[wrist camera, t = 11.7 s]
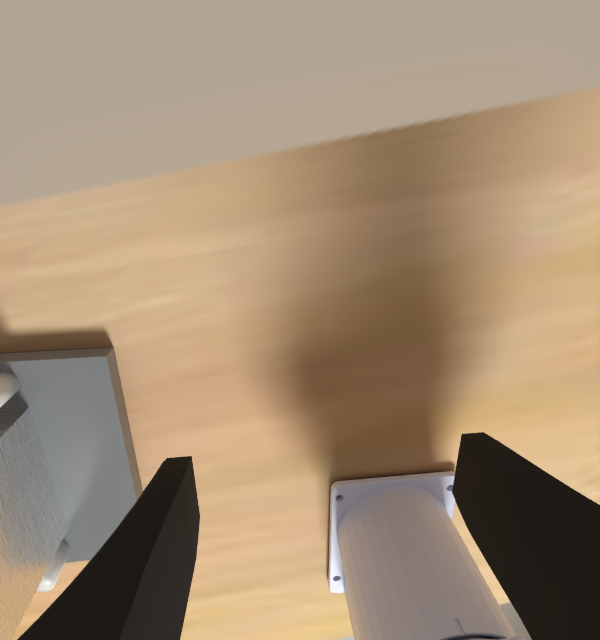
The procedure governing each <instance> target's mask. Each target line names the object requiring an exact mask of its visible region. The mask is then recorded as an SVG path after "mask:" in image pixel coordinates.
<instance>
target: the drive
mask: <svg viewBox="0 0 600 640" xmlns="http://www.w3.org/2000/svg"><path fill="white" fill-rule="evenodd" d="M67 530H68V528H67V525H66V522H65V519H64V516H63V512H62V509H61V506H60V503H59V500H58V497H57V493H56V490H55V487H54V484H53V481H52V478H51V475H50V471H49V468H48V465H47V462H46V459H45V456H44V452H43V449H42V446H41V443H40V440H39V437H38V434H37V430H36V427H35V424H34V421H33V418H32V415H31V412H30V408H29V407H23V408H9V409H0V640H11V639H12V637H13V635H14V634H15V632H16V630H17V628H18V626H19V624H20V622H21V620H22V618H23V616H24V614H25V612H26V610H27V608H28V606H29V604H30V602H31V600H32V598H33V596H34V594H35V592H36V590H37V588H38V587H39V585H40V583H41V581H42V579H43V577H44V575H45V573H46V571H47V569H48V567H49V565H50V563H51V561H52V559H53V557H54V555H55V553H56V551H57V549H58V547H59V545H60V543H61V542H62V540H63V538H64V536H65V534H66V532H67Z"/></svg>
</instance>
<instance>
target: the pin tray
mask: <svg viewBox="0 0 600 640" xmlns="http://www.w3.org/2000/svg"><path fill="white" fill-rule="evenodd" d="M23 407H29V408H30V412H31V415H32V418H33V421H34V424H35V427H36V430H37V434H38V437H39V440H40V443H41V446H42V449H43V452H44V456H45V459H46V462H47V465H48V468H49V471H50V475H51V478H52V481H53V484H54V487H55V490H56V493H57V497H58V500H59V503H60V506H61V509H62V512H63V516H64V519H65V522H66V525H67V528H68V530H67V532H66V534H65V536H64V538H63V540H62V542H61V543H60V545H59V547H58V549H57V551H56V553H55V555H54V557H53V559H52V561H51V563H50V565H49V567H48V569H47V571H46V573H45V575H44V577H43V579H42V581H41V583H40V585H39V587H38V588H37V591H42V592H44V591H49V590H51V589H53V587H54V586H55V584H56V582H57V579H58V577H59V575H60V573H61V571H62V569H63V567H64V565H65V563H67V562H76V561H86V560H91V559H92V558H93V557H94V555H95V554H96V553H97V552H98V551H99V549H100V548H101V547H102V546H103V544H104V543H105V542H106V541H107V540H108V538H109V537H110V536H111V535H112V533H113V532H114V531H115V529H116V528H117V527H118V525H119V524H120V523H121V521H122V520H123V519H124V517H125V516H126V515H127V513H128V512H129V511H130V509H131V508H132V507H133V505H134V504H135V503H136V501H137V500H138V498H139V497H140V496H141V494H142V493H143V492H142V487H141V482H140V477H139V472H138V467H137V462H136V457H135V452H134V447H133V442H132V437H131V433H130V428H129V423H128V418H127V413H126V408H125V403H124V398H123V393H122V388H121V383H120V378H119V373H118V368H117V363H116V358H115V353H114V348H113V347H110V348H92V349H73V350H54V351H35V352H17V353H0V409H9V408H23Z"/></svg>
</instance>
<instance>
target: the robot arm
mask: <svg viewBox="0 0 600 640" xmlns="http://www.w3.org/2000/svg"><path fill="white" fill-rule="evenodd" d="M449 485H450V486H449ZM338 495H341V496H339V497H337V496H338ZM455 501H456V503H457V506H458V508H459V510H460V513H461V515H462V517H463V519H464V521H465V524H466V526H467V528H468V530H469V532H470V534H471V535H472V537H473V539H474V541H475V542H476V544H477V546H478V547H479V549H480V551H481V553H482V554H483V556H484V558H485V559H486V561H487V563H488V564H489V566H490V568H491V570H492V571H493V573H494V575H495V576H496V578H497V580H498V581H499V583H500V585H501V586H502V588H503V590H504V591H505V593H506V595H507V596H508V598H509V600H510V602H511V603H512V605H513V607H514V608H515V610H516V612H517V613H518V615H519V617H520V618H521V620H522V622H523V624H524V626H525V627H526V629H527V631H528V633H529V635H530V637H531V638H532V640H600V505H599V504H597V503H595V502H594V501H592V500H590V499H588V498H587V497H585V496H583V495H582V494H580V493H578V492H577V491H575V490H574V489H572V488H570V487H569V486H567V485H565V484H564V483H562V482H561V481H559V480H558V479H556V478H554V477H553V476H551V475H550V474H548V473H547V472H545V471H543V470H542V469H540V468H539V467H537V466H536V465H534V464H533V463H531V462H530V461H528V460H526V459H525V458H523V457H522V456H520V455H519V454H517V453H516V452H514V451H513V450H511V449H509V448H508V447H506V446H505V445H503V444H502V443H500V442H499V441H497V440H495V439H494V438H492V437H490V436H489V435H487V434H485V433H483V432H482V433H469V434H462V436H461V442H460V448H459V454H458V459H457V465H456V471H455V472H453V471H447V472H436V473H425V474H413V475H402V476H391V477H380V478H369V479H358V480H346V481H338V482H335V483H333V484H332V486H331V496H330V538H329V580H328V585H329V590H330V591H331V592H332V593H342V592H345V596H346V601H347V606H348V611H349V615H350V620H351V625H352V630H353V634H354V639H355V640H525V638H524V637H523V636H522V635H518V636H516V635H515V633H514V632H513V630H512V628H511V626H510V624H509V622H508V621H507V619H506V617H505V615H504V613H503V612H502V610H501V608H500V606H499V604H498V603H497V601H496V599H495V597H494V595H493V594H492V592H491V590H490V588H489V586H488V585H487V583H486V581H485V579H484V577H483V576H482V574H481V572H480V570H479V568H478V567H477V565H476V563H475V561H474V559H473V558H472V556H471V554H470V552H469V551H468V549H467V547H466V545H465V543H464V542H463V540H462V538H461V536H460V534H459V533H458V531H457V529H456V527H455V525H454V524H453V522H452V518H453V512H454V506H455ZM199 522H200V513H199V506H198V499H197V492H196V485H195V477H194V470H193V463H192V456H188V457H176V458H167V459H166V460H165V461H164V462H163V463H162V465H161V466H160V468H159V469H158V471H157V472H156V474H155V475H154V477H153V478H152V480H151V481H150V483H149V484H148V486H147V487H146V488H145V490H144V491H143V493H142V494H141V496H140V497H139V498H138V500H137V501H136V503H135V504H134V505H133V507H132V508H131V509H130V511H129V512H128V513H127V515H126V516H125V517H124V519H123V520H122V521H121V523H120V524H119V525H118V527H117V528H116V529H115V531H114V532H113V533H112V535H111V536H110V537H109V538H108V540H107V541H106V542H105V543H104V544H103V546H102V547H101V548H100V549H99V551H98V552H97V553H96V554H95V555H94V557H93V558H92V559H91V560H90V562H89V563H88V564H87V565H86V566H85V568H84V569H83V570H82V571H81V572H80V573H79V575H78V576H77V577H76V578H75V579H74V580H73V581H72V583H71V584H70V585H69V586H68V587H67V588H66V589H65V590H64V592H63V593H62V594H61V595H60V596H59V597H58V598H57V599H56V600H55V601H54V602H53V603H52V604H51V606H50V607H49V608H48V609H47V610H46V611H45V612H44V613H43V614H42V615H41V616H40V617H39V618H38V619H37V620H36V621H35V622H34V623H33V624H32V625H31V626H30V627H29V628H28V629H27V630H26V631H25V632H24V633H23V634H22V635H21V636H20V637H19V638H18V639H17V640H180V637H181V632H182V627H183V622H184V617H185V612H186V607H187V602H188V597H189V592H190V587H191V582H192V577H193V572H194V567H195V561H196V554H197V544H198V533H199Z"/></svg>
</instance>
